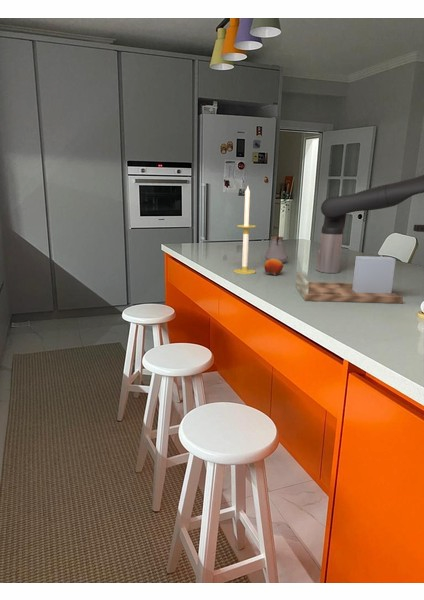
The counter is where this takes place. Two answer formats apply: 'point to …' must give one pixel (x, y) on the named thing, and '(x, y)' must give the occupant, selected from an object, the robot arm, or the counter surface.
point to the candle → (245, 236)
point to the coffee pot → (276, 250)
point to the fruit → (273, 266)
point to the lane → (340, 292)
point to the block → (373, 274)
